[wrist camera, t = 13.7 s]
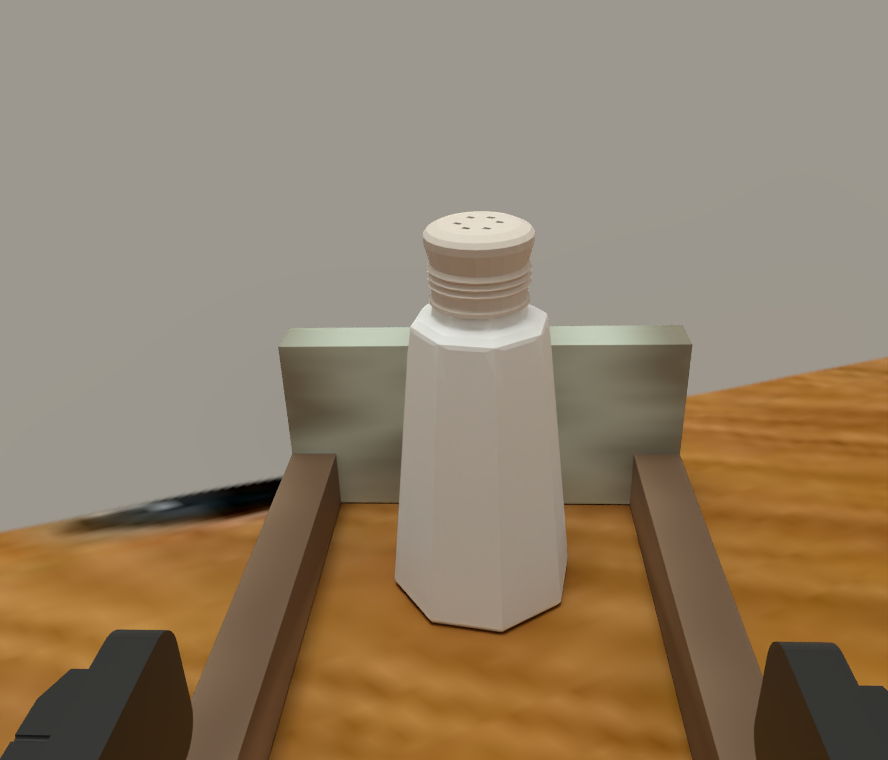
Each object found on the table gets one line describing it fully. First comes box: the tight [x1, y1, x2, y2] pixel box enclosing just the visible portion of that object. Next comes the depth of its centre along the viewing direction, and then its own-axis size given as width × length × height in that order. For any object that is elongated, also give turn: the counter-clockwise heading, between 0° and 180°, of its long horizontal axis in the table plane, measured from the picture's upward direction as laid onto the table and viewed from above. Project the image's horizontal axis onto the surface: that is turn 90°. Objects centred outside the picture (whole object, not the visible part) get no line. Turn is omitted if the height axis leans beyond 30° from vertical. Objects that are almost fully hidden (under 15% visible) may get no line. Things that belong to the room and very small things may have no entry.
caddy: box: [186, 325, 763, 760], centre depth 21 cm, size 13×16×6 cm
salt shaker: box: [395, 211, 568, 632], centre depth 23 cm, size 5×5×11 cm
